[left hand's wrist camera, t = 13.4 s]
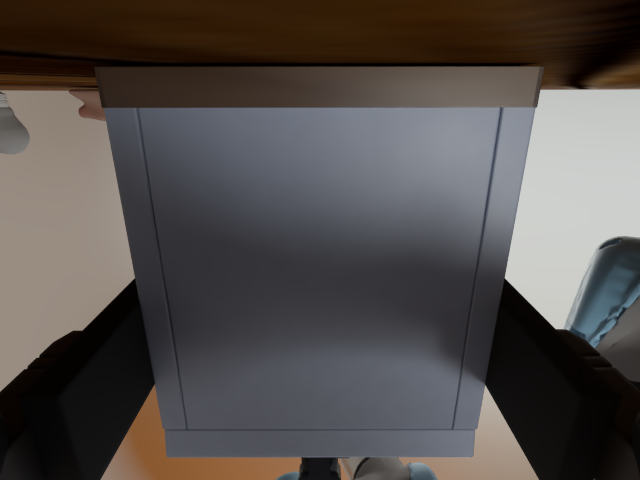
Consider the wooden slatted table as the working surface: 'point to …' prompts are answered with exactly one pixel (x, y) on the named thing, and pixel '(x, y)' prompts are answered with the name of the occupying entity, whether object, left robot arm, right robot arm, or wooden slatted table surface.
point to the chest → (319, 236)
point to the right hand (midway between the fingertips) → (319, 341)
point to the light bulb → (11, 130)
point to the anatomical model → (90, 104)
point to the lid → (319, 442)
